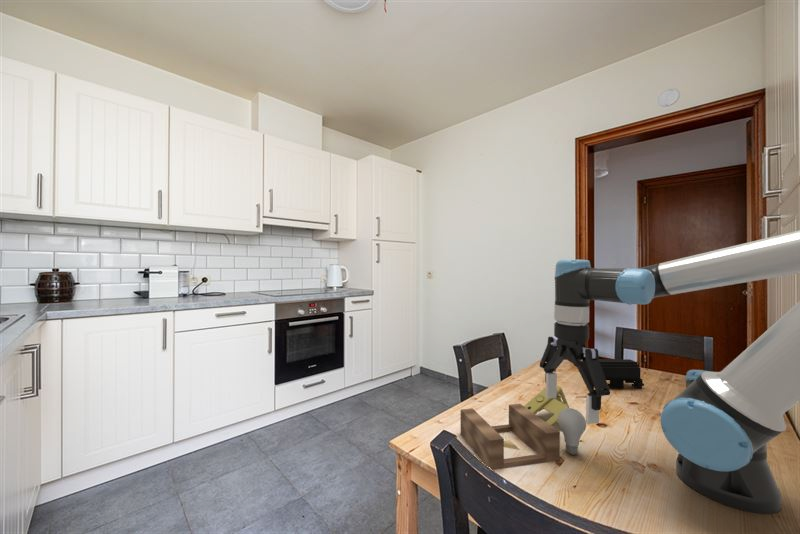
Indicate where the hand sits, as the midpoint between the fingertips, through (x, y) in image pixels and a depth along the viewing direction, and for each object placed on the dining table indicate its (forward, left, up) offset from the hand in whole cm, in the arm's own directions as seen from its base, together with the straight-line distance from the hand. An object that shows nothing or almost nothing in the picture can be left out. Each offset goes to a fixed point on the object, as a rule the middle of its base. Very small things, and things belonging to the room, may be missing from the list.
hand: (570, 409), depth 78 cm
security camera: (+34, -51, -11) cm, 62 cm away
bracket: (+16, -10, -14) cm, 23 cm away
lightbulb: (0, 0, -11) cm, 11 cm away
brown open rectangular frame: (+6, +14, -11) cm, 18 cm away
